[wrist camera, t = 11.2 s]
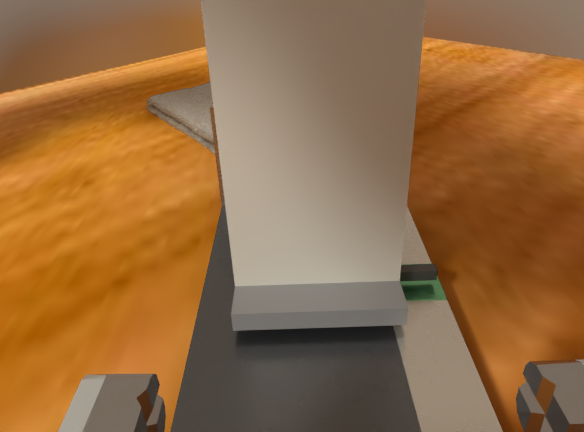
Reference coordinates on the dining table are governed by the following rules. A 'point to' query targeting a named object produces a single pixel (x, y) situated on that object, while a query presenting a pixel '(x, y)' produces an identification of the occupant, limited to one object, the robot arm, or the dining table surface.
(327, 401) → the base
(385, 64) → the upright white panel
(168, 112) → the washcloth
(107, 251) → the dining table surface
